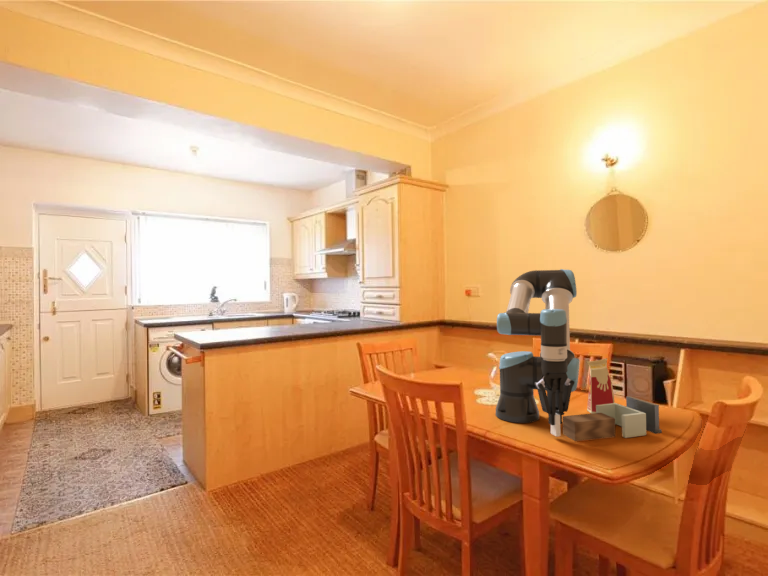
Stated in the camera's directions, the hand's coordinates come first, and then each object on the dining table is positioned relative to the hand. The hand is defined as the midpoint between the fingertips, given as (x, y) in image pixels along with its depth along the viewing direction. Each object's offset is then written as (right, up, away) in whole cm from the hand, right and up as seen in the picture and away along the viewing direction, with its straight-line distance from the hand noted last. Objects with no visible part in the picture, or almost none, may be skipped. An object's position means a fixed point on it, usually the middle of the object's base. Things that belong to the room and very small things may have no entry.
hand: (555, 434), depth 126 cm
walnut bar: (+12, -1, +2) cm, 12 cm away
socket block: (+24, -1, +6) cm, 24 cm away
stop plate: (+32, -1, +8) cm, 33 cm away
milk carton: (+28, -1, +26) cm, 38 cm away
